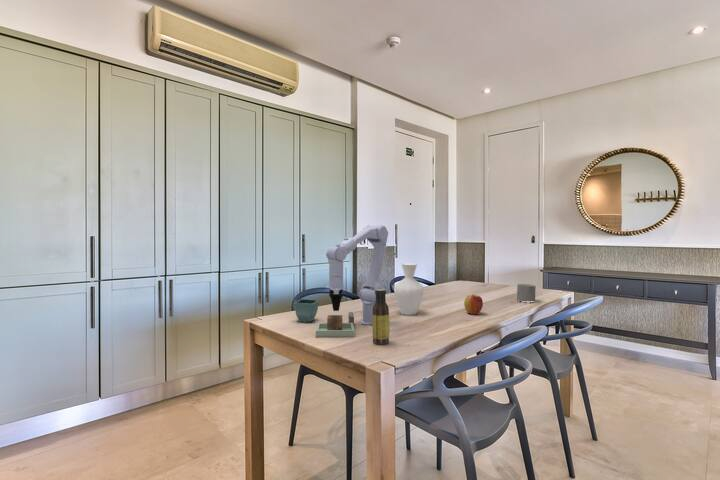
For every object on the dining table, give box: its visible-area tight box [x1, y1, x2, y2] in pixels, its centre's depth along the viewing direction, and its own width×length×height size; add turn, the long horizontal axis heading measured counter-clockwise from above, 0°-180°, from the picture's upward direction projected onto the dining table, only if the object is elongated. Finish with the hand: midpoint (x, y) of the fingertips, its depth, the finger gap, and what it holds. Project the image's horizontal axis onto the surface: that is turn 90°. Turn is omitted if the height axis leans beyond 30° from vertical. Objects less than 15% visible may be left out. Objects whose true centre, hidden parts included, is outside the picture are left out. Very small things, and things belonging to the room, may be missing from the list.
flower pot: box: [294, 298, 320, 323], centre depth 170 cm, size 9×9×9 cm
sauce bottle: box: [372, 288, 390, 345], centre depth 139 cm, size 6×6×20 cm
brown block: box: [326, 314, 343, 330], centre depth 151 cm, size 6×6×6 cm
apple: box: [463, 294, 484, 315], centre depth 188 cm, size 9×9×10 cm
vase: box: [394, 262, 424, 316], centre depth 187 cm, size 14×14×25 cm
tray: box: [315, 322, 355, 338], centre depth 151 cm, size 15×12×2 cm
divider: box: [347, 311, 355, 327], centre depth 162 cm, size 2×8×5 cm, turn 4°
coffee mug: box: [516, 283, 536, 302], centre depth 223 cm, size 13×10×10 cm
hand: (335, 308), depth 152 cm, fingers open, 7 cm apart
